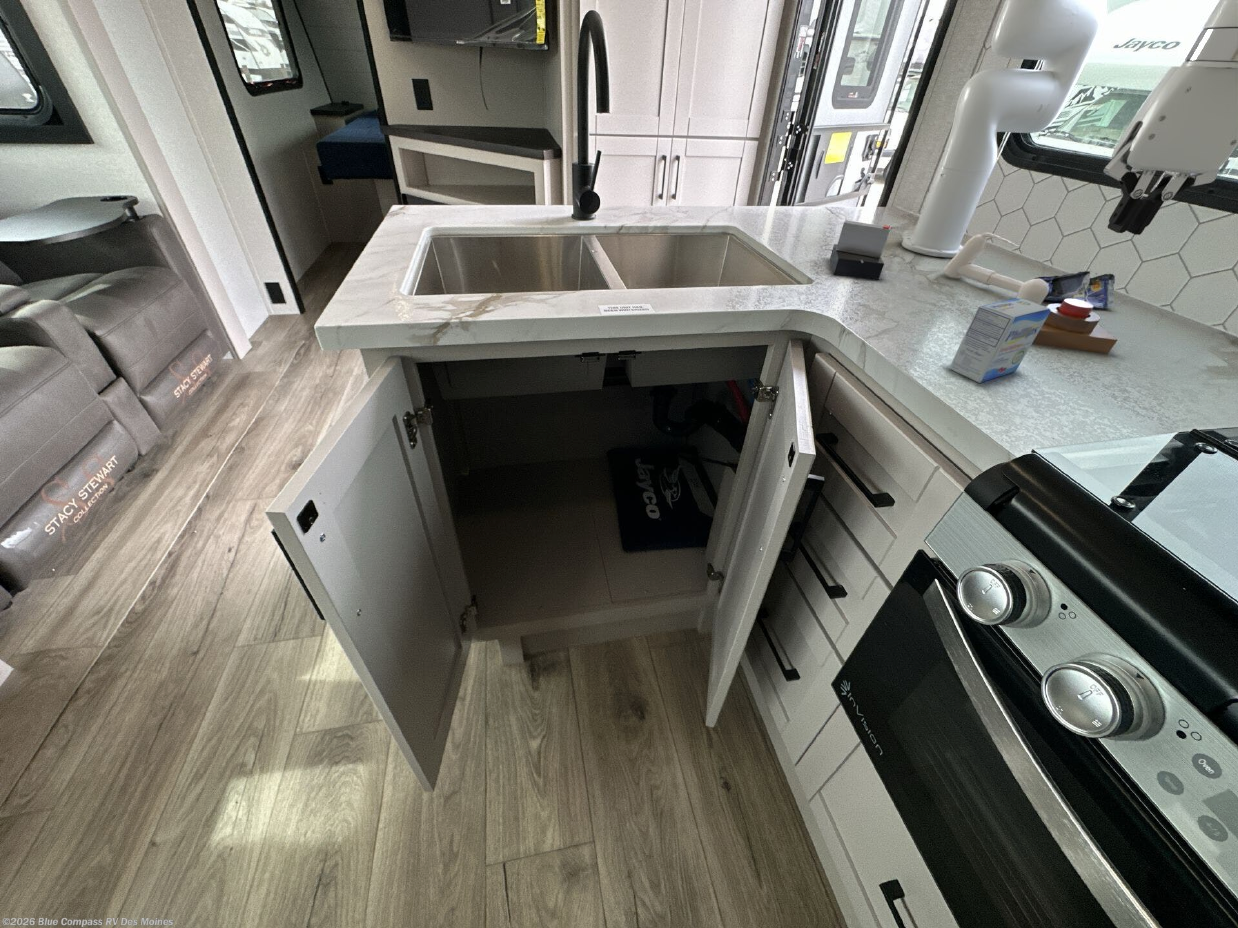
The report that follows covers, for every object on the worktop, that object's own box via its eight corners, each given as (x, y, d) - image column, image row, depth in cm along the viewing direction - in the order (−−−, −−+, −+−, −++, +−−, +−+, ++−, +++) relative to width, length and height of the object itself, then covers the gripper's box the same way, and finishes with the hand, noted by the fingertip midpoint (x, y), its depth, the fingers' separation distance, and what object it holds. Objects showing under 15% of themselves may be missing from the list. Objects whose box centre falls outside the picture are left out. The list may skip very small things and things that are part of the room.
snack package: (1087, 320, 83) (1119, 306, 88) (1103, 279, 80) (1136, 267, 85) (1007, 306, 93) (1041, 295, 97) (1019, 269, 89) (1053, 259, 94)
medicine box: (978, 384, 64) (1015, 318, 58) (946, 368, 67) (978, 304, 62) (1015, 372, 67) (1054, 308, 62) (983, 358, 70) (1017, 295, 65)
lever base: (818, 256, 104) (822, 240, 102) (881, 264, 102) (887, 247, 100) (822, 275, 95) (827, 257, 93) (891, 283, 93) (898, 266, 91)
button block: (1011, 323, 81) (1025, 298, 78) (1082, 332, 79) (1098, 306, 77) (1030, 344, 74) (1046, 317, 72) (1107, 354, 73) (1126, 327, 70)
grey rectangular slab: (835, 250, 98) (844, 220, 94) (837, 248, 99) (846, 218, 96) (879, 258, 95) (890, 228, 91) (881, 255, 96) (891, 226, 93)
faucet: (1006, 331, 90) (1056, 284, 82) (939, 268, 98) (978, 220, 90) (1021, 328, 91) (1071, 281, 83) (953, 266, 99) (992, 218, 91)
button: (1052, 308, 76) (1059, 297, 75) (1079, 312, 76) (1087, 300, 74) (1063, 317, 73) (1070, 305, 72) (1091, 321, 73) (1098, 309, 72)
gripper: (1290, 57, 58) (1173, 231, 69) (1135, 50, 60) (1046, 218, 72) (1347, 56, 52) (1209, 246, 63) (1172, 48, 54) (1070, 232, 66)
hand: (1123, 230), depth 67 cm, fingers closed
